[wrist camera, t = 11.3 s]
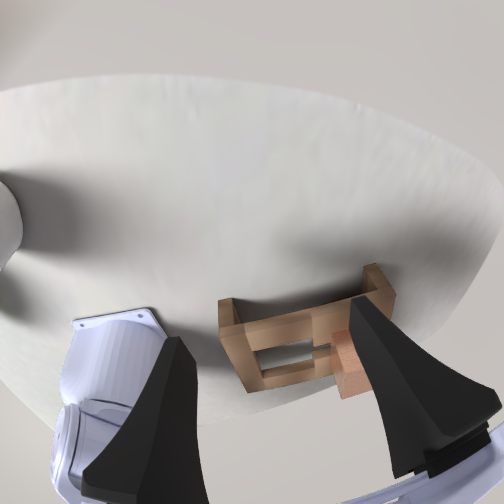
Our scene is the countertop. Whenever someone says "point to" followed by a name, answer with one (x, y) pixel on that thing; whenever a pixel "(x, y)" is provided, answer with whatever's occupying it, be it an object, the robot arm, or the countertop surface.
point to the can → (9, 225)
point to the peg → (347, 366)
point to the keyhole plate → (294, 335)
